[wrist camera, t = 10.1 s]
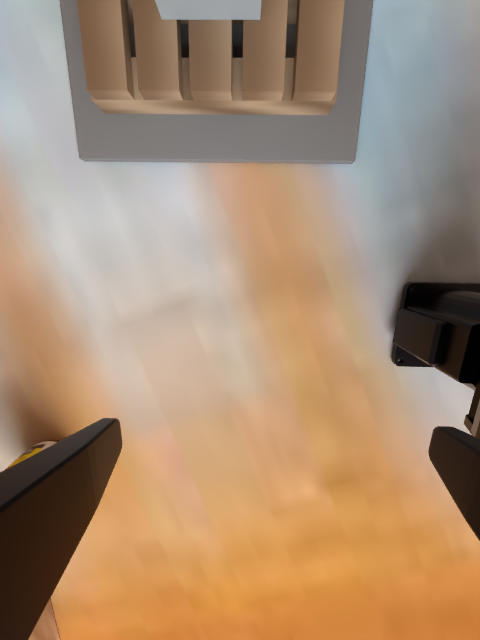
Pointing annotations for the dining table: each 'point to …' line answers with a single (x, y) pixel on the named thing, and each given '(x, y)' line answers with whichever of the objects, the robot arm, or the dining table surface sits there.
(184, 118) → the mat
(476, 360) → the robot arm
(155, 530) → the dining table surface
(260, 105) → the pallet
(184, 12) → the white box
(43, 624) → the wooden shallow box
